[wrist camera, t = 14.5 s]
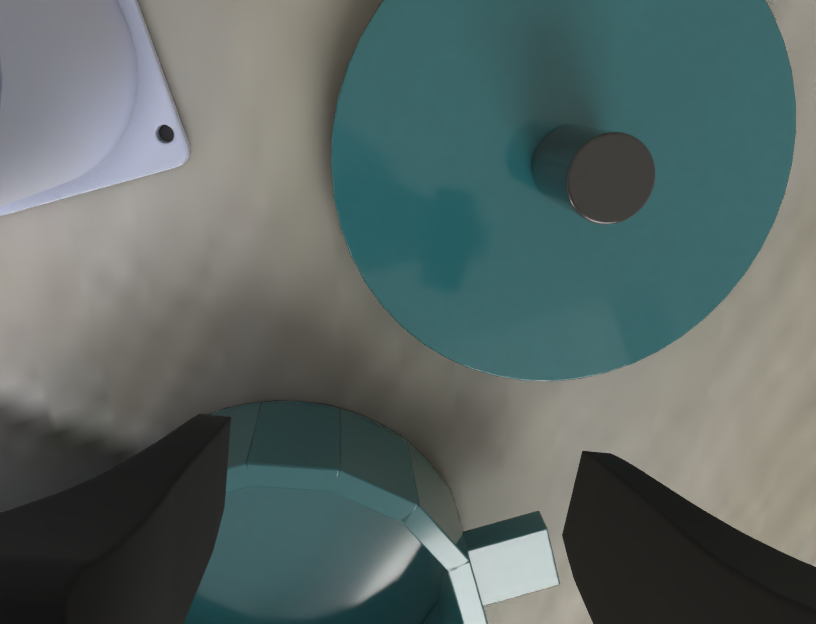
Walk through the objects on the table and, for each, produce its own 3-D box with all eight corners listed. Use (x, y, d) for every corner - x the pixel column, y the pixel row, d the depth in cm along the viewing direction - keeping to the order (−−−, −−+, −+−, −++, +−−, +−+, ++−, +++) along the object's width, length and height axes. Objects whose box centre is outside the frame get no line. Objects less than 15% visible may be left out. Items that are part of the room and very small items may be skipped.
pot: (-39, 481, 23) (-119, 564, 19) (488, 334, 24) (518, 386, 19) (115, 754, 28) (77, 867, 24) (557, 629, 28) (594, 721, 24)
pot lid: (268, -21, 19) (247, -52, 15) (756, -156, 19) (875, -225, 15) (398, 416, 24) (411, 488, 20) (789, 306, 24) (887, 354, 20)
